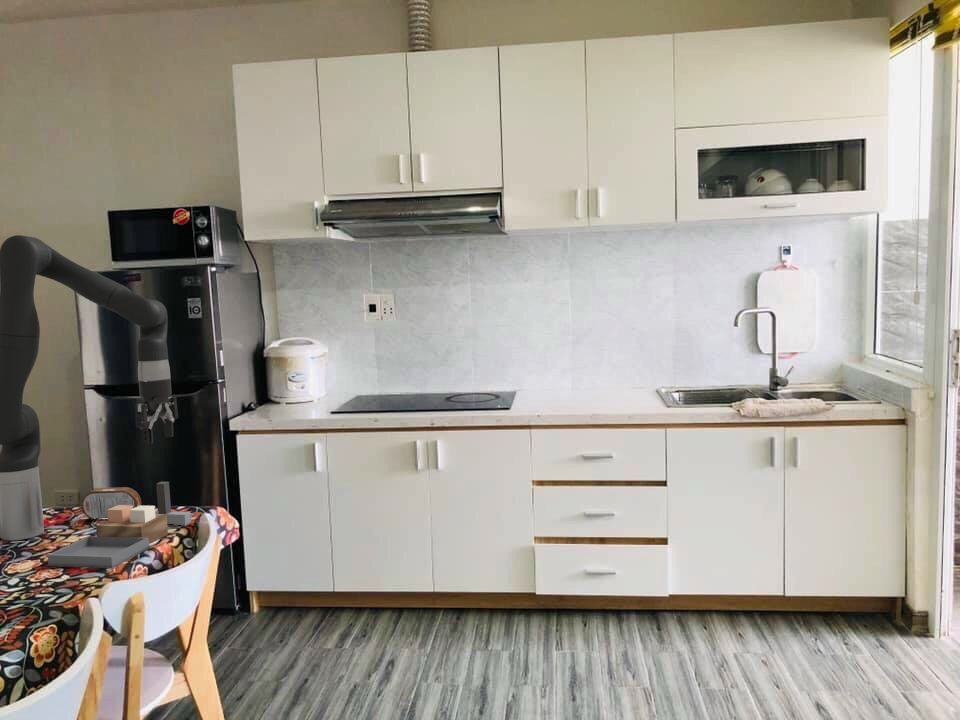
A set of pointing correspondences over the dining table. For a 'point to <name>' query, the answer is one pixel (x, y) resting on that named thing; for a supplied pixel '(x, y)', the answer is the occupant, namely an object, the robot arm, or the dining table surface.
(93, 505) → the tin
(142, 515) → the tile
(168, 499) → the grey t-shaped tool
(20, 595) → the dining table surface
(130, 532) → the tan slab
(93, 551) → the box
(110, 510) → the tile
